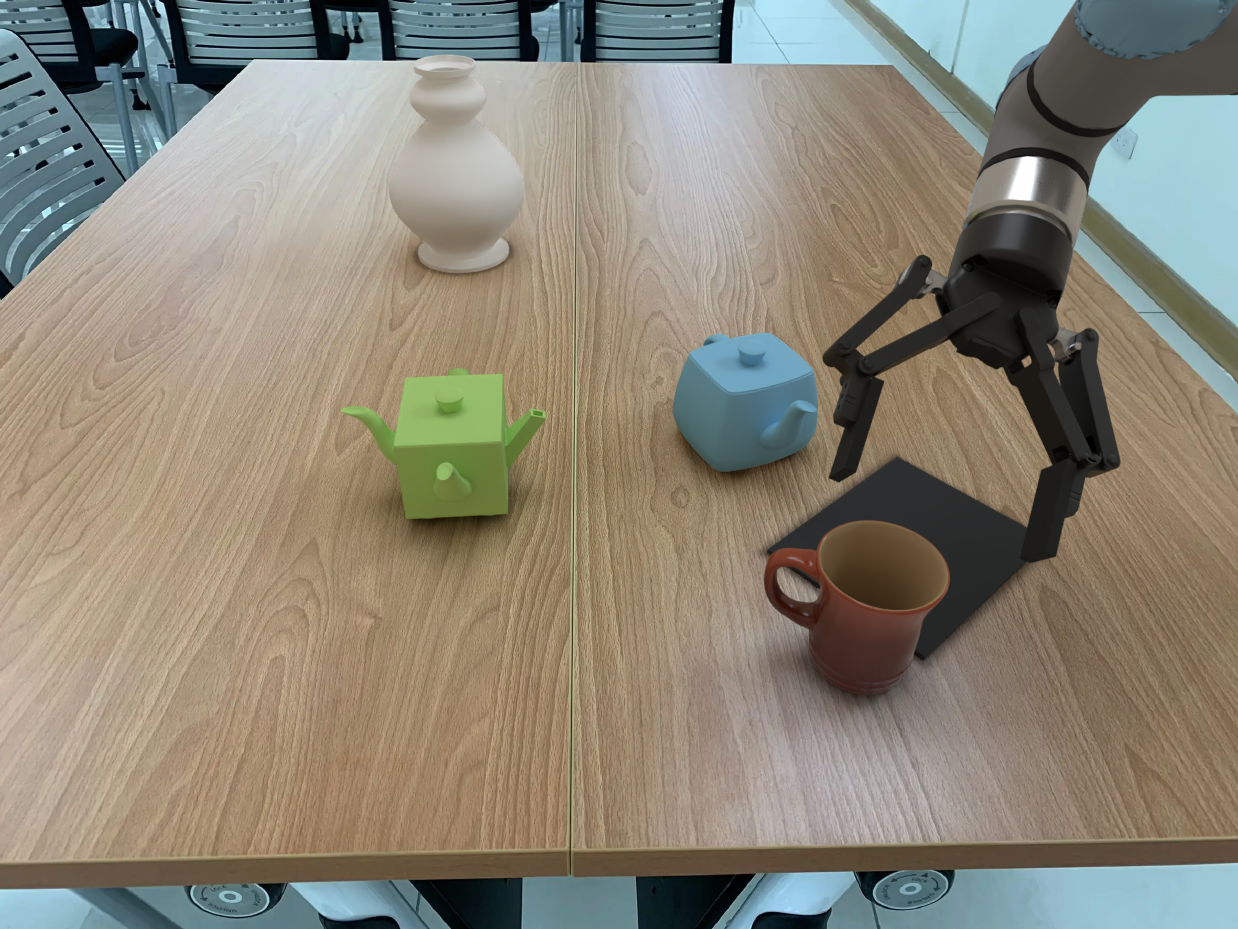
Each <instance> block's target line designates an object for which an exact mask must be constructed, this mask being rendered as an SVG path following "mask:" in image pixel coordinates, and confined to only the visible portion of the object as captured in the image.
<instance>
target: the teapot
mask: <svg viewBox="0 0 1238 929" xmlns="http://www.w3.org/2000/svg"><path fill="white" fill-rule="evenodd" d="M816 381H817V380H816V375H815V371H814V368H813V367H812V365H810V364H809V363H808V362H807V361H806V360H805V359H804V358H803V357H801V356H800V355H799V354H798V353H797V352H796V351H795V350H794V349H793V348H791V347H790V345H788V344H786V343H785V342H784V341H783V340H781V339H780V338H779V337H777V336H776V335H774V334H773V333H770V332H759V333H757V332H756V333H751V334H745V335H741V336H739V335H738V336H735V337H731V338H730V337H729V336H728V335H726V334H724V333H714V334H711V335H709V336H708V337H707V338H705V340H704V341H703V345H702V346H700V347H698V348H695V349H694V350H692V351H690V352H689V353H688V355H687V357H686V360H685V362H684V364H683V367H682V370H681V373H680V375H679V378H678V380H677V385H676V388H675V393H674V396H673V404H672V415H673V419H674V422H675V424H676V427H677V430H678V431H679V432H680V433H681V435H682V436H683V437H684V439H685V440H686V441H687V442H688V444H689V445H690V447H691V448H692V449H693V450H694V451H695V452H696V453H697V454H698V455H699V456H700V457H701V458H702V459H703V461H705V462H706V463H707V465H709V466H710V467H711V468H712V469H714V471H717V472H724V473H726V472H735V471H742V470H746V469H750V468H755V467H760V466H764V465H768V464H771V463H773V462H776V461H777V462H778V461H779V460H781V459H785V458H787V457H789V456H791V455H794V454H795V453H797V452H800V451H801V450H803V449H804V448H806V447H807V445H808V444H810V442H811V440H812V439H813V437H814V435H815V433H816V430H817V424H818V409H819V408H818V407H819V406H818V405H819V402H818V390H817V382H816Z"/></svg>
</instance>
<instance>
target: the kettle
mask: <svg viewBox="0 0 1238 929" xmlns="http://www.w3.org/2000/svg"><path fill="white" fill-rule="evenodd" d="M504 380H505V379H504V374H503V373H488V374H487V373H486V374H483V373H482V374H470V371H469V370H468V369H467V368H462V367H457V368H456V367H454V368H451V369H449V370H447V375H431V376H411V377H410V376H407V377H405V379H404V383H403V388H402V389H403V390H402V394H401V400H400V406H399V410H398V416H397V417H398V418H397V423H396V429H395V431H394V430H392V429H391V428H390V427H389V426H388V425H387V424H386V422H385V421H384V419H383V418H382V417H381V416H380V415H379V414H378V413H377V412H376V411H374V410H373V409H371V408H369V407H366V406H360V405H351V406H344V407H342V408H341V409H340V412H341V413H342V414H345V415H347V416H350V417H352V418H355V419H357V420H358V421H360V422H361V423H363V424H364V425H365V427H366V428H367V429H368V431H369V432H370V434H371V436H372V437H373V439H374V442H375V443H376V445H377V447H378V448H379V450H380V452H381V453H382V454H383V456H384V457H385V458H386V459H387V460H388V461H389V462H390V463H391V464H394V465H395V466H396V472H397V477H398V483H399V487H400V493H401V499H402V504H403V509H404V515H405V519H406V520H413V519H415V520H416V519H428V520H430V519H436V518H450V517H451V518H453V517H471V516H487V517H488V516H495V515H508V514H509V469H510V468H511V467H512V465H513V464H514V463H515V461H516V460H517V459H518V457H519V456H520V455H521V453H522V452H523V450H525V448H526V446H527V445H528V444H529V443H530V441H531V440H532V439H533V437H534V436H535V435H536V433H537V432H538V431H539V429H540V428H541V427H542V425H543V424H544V423H545V422H546V419H547V414H546V410H542V409H536V408H530V409H529V410H528V411H526V413H524V414H523V415H522V416H521V417H520V418H518V419H517V420H516V421H515V422H514V423H512V424H511V425H510V426H508V418H507V406H506V405H507V404H506V395H505V381H504Z"/></svg>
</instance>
